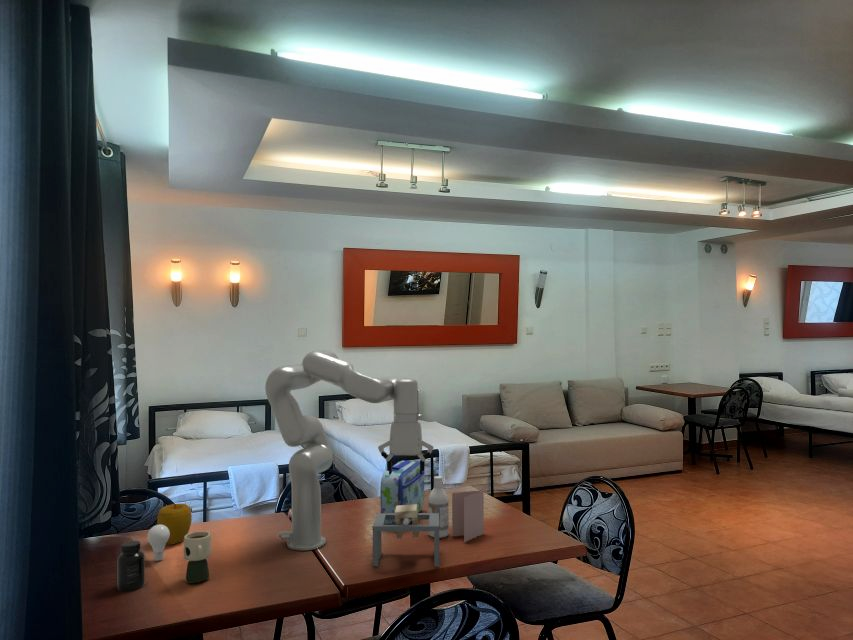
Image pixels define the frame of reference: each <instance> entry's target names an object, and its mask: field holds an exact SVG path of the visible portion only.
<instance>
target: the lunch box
mask: <svg viewBox="0 0 853 640" xmlns="http://www.w3.org/2000/svg"><path fill="white" fill-rule="evenodd" d="M425 472H426V471H422V474H420V460H419V461H415V460H413V461H411V460H401V461H399V462H397V463H396V464H394V465H392V473H391V474H389V471H387V469H386V470H385V471H384V472H383V473H382V475H381V480H380V487H379V488H380V490H379V491H380V493H379V494H380V513H395V509H396V506H398V505H412V504H417V510H418V513H421V511H422V509H423V505H424V502H425V501H424V500H425V474H426V473H425ZM403 522H404V519H402V524H403ZM411 522H412V519H409V524H410V523H411ZM384 525H396V522H395V519H387V520H385V524H384ZM403 525H404V524H403Z"/></svg>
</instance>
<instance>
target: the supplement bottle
mask: <svg viewBox="0 0 853 640" xmlns="http://www.w3.org/2000/svg"><path fill="white" fill-rule="evenodd" d="M120 547H121V550H120V552H121V553H120V554H119V555H118V556H117V560H116V562H117V564H116V565H117V567H116V569H117V572H116V573H117V574H116V575H117V577H116V578H117V589H118V590H119V591H120V592H131V591H132V592H133V591H135V590H136V591H137V590H139V589H140V588H142V587H143V586H144V585H145V581H146V580H145V579H146V578H145V577H146V575H145V565H146V564H145V552H143V551H142V550H141V548H142V547H141V541H139V540H130V541H126V542H124V543H121V546H120Z"/></svg>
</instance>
